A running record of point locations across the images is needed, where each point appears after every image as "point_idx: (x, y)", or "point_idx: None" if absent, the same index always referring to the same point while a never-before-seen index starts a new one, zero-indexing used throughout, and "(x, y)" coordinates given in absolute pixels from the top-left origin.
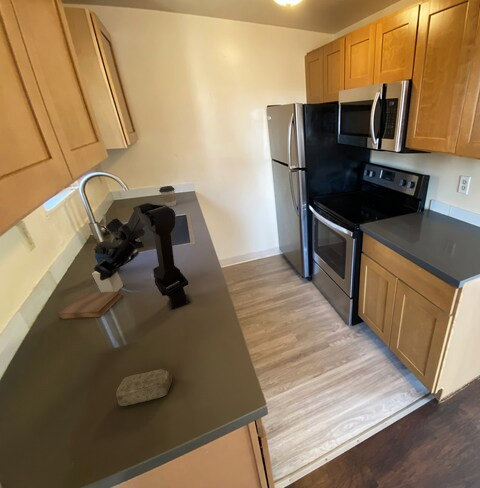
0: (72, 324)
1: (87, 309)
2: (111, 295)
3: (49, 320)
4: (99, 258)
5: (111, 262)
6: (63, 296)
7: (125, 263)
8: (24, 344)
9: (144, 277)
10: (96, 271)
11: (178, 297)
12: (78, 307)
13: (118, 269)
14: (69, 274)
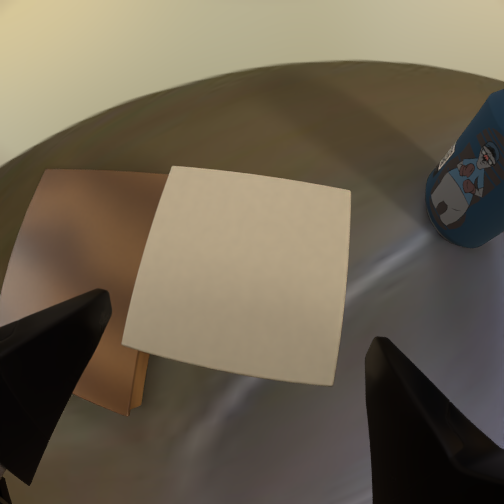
0: (12, 250)
1: (15, 286)
2: (92, 373)
3: (77, 147)
4: (489, 122)
5: (493, 204)
6: (256, 93)
7: (376, 487)
8: (2, 166)
9: (369, 456)
10: (210, 192)
11: None
12: (45, 230)
13: (470, 244)
14: (420, 68)
